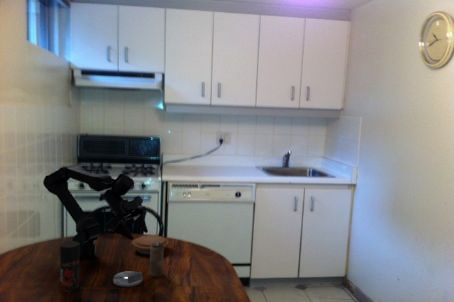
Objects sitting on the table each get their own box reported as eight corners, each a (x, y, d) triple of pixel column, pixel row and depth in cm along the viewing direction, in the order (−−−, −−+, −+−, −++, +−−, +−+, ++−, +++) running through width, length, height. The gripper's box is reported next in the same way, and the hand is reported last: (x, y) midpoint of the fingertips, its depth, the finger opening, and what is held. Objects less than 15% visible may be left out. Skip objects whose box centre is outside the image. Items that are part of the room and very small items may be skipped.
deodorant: (82, 285, 130) (83, 242, 128) (70, 293, 124) (70, 248, 123) (68, 282, 132) (69, 240, 130) (55, 289, 126) (56, 245, 125)
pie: (144, 241, 175) (144, 231, 175) (174, 247, 170) (175, 236, 170) (124, 252, 161) (125, 241, 160) (157, 259, 156) (157, 247, 155)
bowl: (107, 279, 135) (108, 270, 135) (131, 271, 142) (132, 262, 142) (124, 289, 128) (124, 279, 128) (148, 280, 136) (148, 271, 136)
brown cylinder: (149, 277, 139) (150, 246, 138) (149, 271, 143) (150, 241, 142) (163, 276, 140) (164, 245, 139) (162, 271, 145) (163, 241, 143)
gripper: (113, 194, 135) (138, 230, 132) (143, 186, 152) (166, 217, 149) (95, 213, 139) (119, 248, 136) (126, 202, 156) (149, 233, 153)
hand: (140, 235), depth 143 cm, fingers open, 9 cm apart
